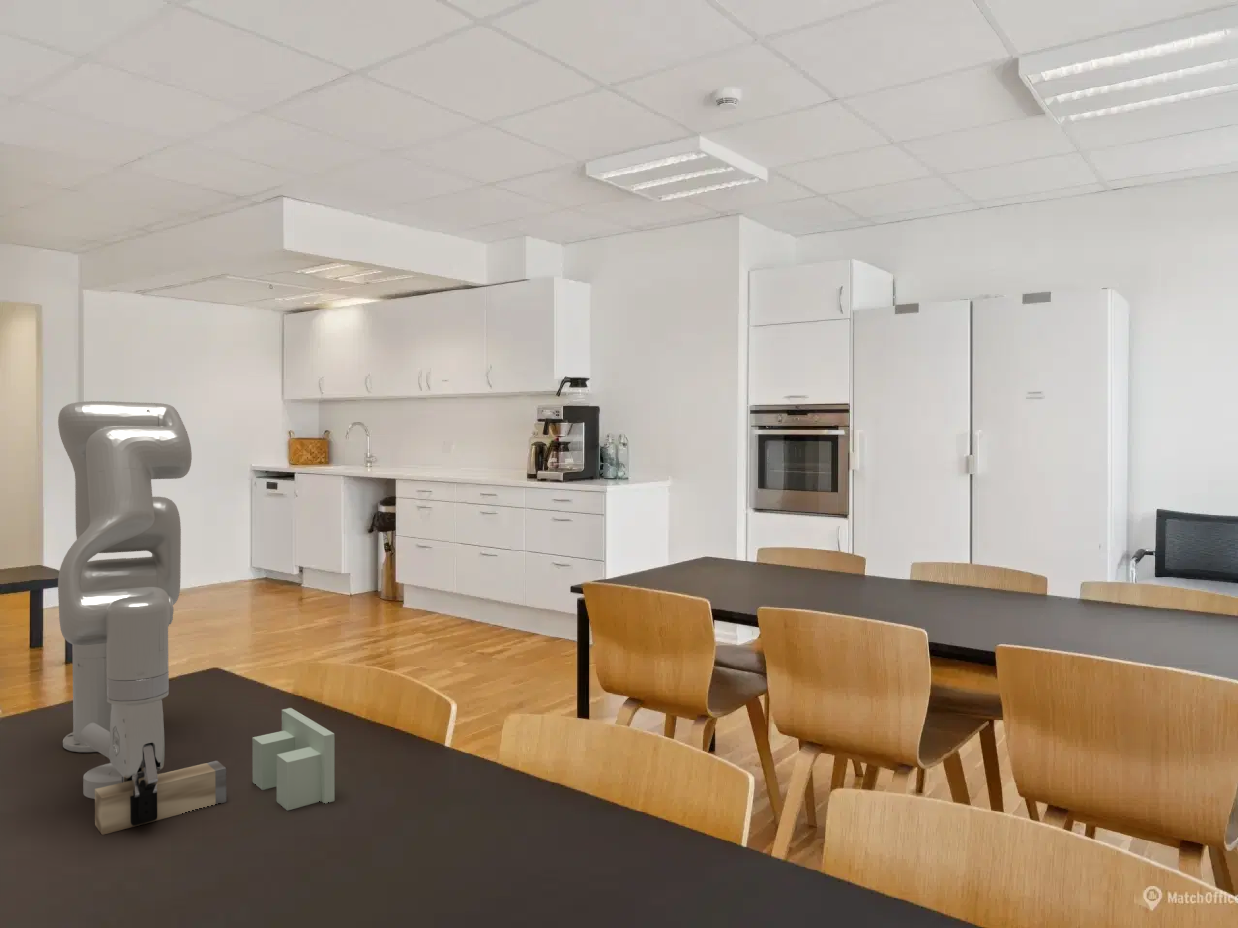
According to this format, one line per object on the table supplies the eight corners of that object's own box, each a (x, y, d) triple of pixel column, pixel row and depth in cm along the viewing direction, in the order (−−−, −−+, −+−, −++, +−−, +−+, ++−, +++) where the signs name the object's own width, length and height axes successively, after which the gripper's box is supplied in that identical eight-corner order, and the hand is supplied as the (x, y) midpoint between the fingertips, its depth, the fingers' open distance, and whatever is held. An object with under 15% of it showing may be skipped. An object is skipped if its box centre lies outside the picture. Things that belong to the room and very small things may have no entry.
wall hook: (105, 713, 138) (160, 718, 136) (106, 773, 138) (161, 779, 136) (60, 731, 130) (118, 737, 128) (61, 795, 130) (119, 801, 128)
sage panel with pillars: (249, 779, 136) (249, 716, 136) (291, 769, 141) (290, 707, 140) (290, 813, 124) (290, 743, 124) (334, 800, 129) (334, 733, 128)
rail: (95, 824, 120) (94, 788, 120) (217, 793, 131) (216, 760, 131) (102, 834, 117) (101, 798, 117) (226, 801, 128) (226, 768, 128)
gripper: (93, 678, 125) (94, 804, 126) (123, 706, 113) (124, 846, 113) (151, 669, 130) (151, 791, 131) (185, 694, 118) (186, 828, 118)
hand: (139, 815), depth 122 cm, fingers closed on rail, 4 cm apart
